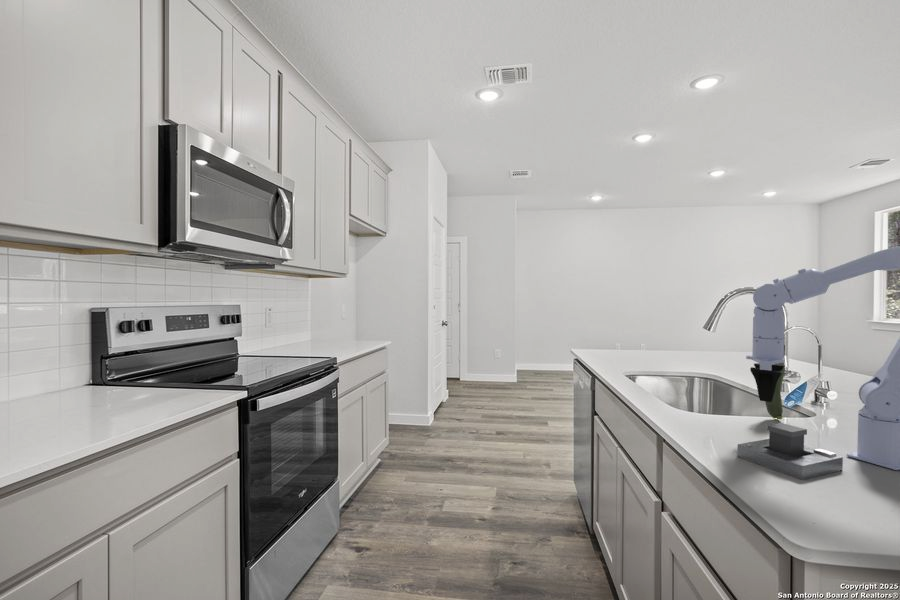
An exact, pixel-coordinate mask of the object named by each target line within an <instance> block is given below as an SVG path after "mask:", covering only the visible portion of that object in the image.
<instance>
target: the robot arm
mask: <svg viewBox="0 0 900 600" xmlns="http://www.w3.org/2000/svg"><path fill="white" fill-rule="evenodd" d="M875 271H876V272H877V271H883V272H884V271H886V272H887V271H888V272H896V271H900V245H898V246H894V247H890V248H886V249H882V250H878V251H876V252H873V253H871V254H867V255H863V256H862V257H859V258H856V259H853V260H851V261H848V262H846V263H843V264H839V265H837V266H834V267H831V268H829V269H827V270H824V271H822V270H819V269H815V268H809V269H806V268H802V269H799V270H797V273H795V274H793V275H790V276H787V277H785V278H782V279H779V278H775V279H773V280H772V282H773V283H765V284H763V285H761V286H759V287H758V288H756V289H755V291H754V293H753V295H752V299H753V303H754V305H756V306H754V309H753V314H754V316H753V318H752V350H751V351H752V353H751V354H752V355H748V354H746V356H745V359H746V360H751V361H753V362H756V363H753V366H754V367H753V366H752V367H750V369H749V370H750V373H751V374H752V377H753V378H754V380H755V384H756V388H757V389H756V390H757V394H758V399H759V401H761V402H765V401H766V402H772V399H773V396H774V392H775V388H776V383H777V381H778V379H779V377H780V376H781V374H782V371H781V370H782V369H783V368H784V365H785V364H784V365H782V364H778V363H785V360H786V359H785V358H784V354H785V353H784V352H785V317H784V308H783V306H784V305H785V303H787V304H791V305H792V304H796V303H799V302H802V301H806V300H808V299H812V298H815V297H818V296H821V295H824V294H825V293H826V292H828V290H829V287H830V286H831V285H833V284H837V283H839V282H843V281H845V280H849V279H853V278H855V277H858V276H859V277H860V276H862V275H866V274H869V273H872V272H875ZM858 396H859V400H860V401H861V402H862V404H864V405H863V407H862V408H861V409H859V410H858V412H857V413H858V415H857V446H856V447H857V450H856V451H853V452H849V453H846V456H847V457H850V458H852V459H855V460H856V459H857V460H859V461H863V462H867V463H870V464H873V465H877V466H880V467H884V468H887V469H890V470H894V471H899V470H900V337H899V338H898V340H897V341H896V343H895V344H894V346H893V348H892V350H891V351H890V354H889V355H888V357H887V358H886V360H885V362H884V363H883V365H882V366H881V367H880V368H879V369H878V370H877V371H875V373H874V375H873V377H872V378H871V379H870V380H868V381H866V382H864V383H863V384H861V386H860V387H859V390H858Z"/></svg>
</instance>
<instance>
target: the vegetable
mask: <svg viewBox="0 0 900 600" xmlns="http://www.w3.org/2000/svg"><path fill="white" fill-rule="evenodd" d="M784 363H785V362H784ZM784 363H778V364H782V365H784V368H783V369H782V370H781V371H782V374H781V376H780V377H779V379H778V381H777V383H776V388H775V392H774V396H773V399H772V402H766V401H764V402H765V405H766V411H767V413H768V414H769V416H771V417H772V418H773V419H774V418H777V419H780V420H782V419H783V413H784V411H783V402H782V395H781V390H782V389H781V388H782V384H783V380H784V377H785V371H786V368H785V367H786V366H785V364H784Z"/></svg>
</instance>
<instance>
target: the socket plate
mask: <svg viewBox="0 0 900 600" xmlns="http://www.w3.org/2000/svg"><path fill="white" fill-rule="evenodd" d="M736 455H737V458H740V459H743V460H747V461H749V462H752V463H755V464H757V465H761V466H764V467H766V468H769V469H772V470H774V471H777V472H780V473H782V474H785V475H788V476H791V477H794V478H797V479H800V480H803V481H804V480H806V479H811V478H815V477H820V476H824V474H825V475H827V474H828V473H829V474H832V472H833V473H837V472H841V471H843V464H844V463H843V462H844V460H843V458H844V457H843V456H840V455H838V454H837V453H836V452H832V451H830V450H826V449H822V448H813V447H810V446H808V445H807V446H806V445H804V456H802V457H797V458H794V457H791V456H788V455H785V454H781V453H778V452H775V451H772V450H769V438H765V439H760V440H755V441H749V442H743V443H738V444H737V453H736ZM840 470H841V471H840ZM836 471H837V472H836Z"/></svg>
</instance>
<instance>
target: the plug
mask: <svg viewBox="0 0 900 600" xmlns="http://www.w3.org/2000/svg"><path fill="white" fill-rule="evenodd" d="M766 431H767V432H769V434H768V435H769V437H768V439H769V450H772V451H775V452H778V453H781V454H785V455H788V456H791V457H794V458H797V457H802V456H804V446H805V436H806V435H808V429H806V428H803V427H799V426H795V425H791V424H788V423H784V422H779V423H772V424H767V425H766Z"/></svg>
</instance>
